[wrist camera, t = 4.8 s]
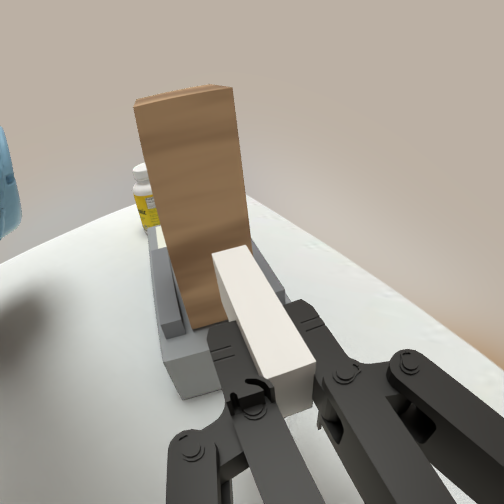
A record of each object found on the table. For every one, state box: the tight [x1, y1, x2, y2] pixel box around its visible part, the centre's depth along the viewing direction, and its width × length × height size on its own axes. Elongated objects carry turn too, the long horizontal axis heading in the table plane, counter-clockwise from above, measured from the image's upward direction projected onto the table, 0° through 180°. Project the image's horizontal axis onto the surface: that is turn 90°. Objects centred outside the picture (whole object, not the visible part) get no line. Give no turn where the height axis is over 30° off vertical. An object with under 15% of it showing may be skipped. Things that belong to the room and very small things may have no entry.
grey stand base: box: [147, 225, 291, 400], centre depth 30 cm, size 20×10×6 cm, turn 18°
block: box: [133, 84, 253, 329], centre depth 21 cm, size 6×5×15 cm
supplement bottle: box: [132, 163, 160, 234], centre depth 44 cm, size 5×5×10 cm
